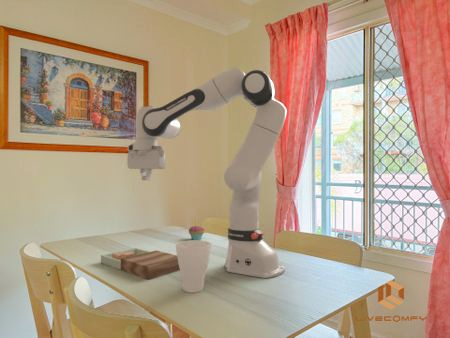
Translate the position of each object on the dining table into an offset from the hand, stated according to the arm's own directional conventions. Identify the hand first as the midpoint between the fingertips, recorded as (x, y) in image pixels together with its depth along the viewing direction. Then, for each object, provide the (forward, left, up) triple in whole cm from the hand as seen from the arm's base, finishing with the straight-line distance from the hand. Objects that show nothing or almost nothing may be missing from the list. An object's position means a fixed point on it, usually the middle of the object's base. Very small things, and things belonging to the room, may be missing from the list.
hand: (145, 180), depth 129 cm
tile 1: (+1, +10, -28) cm, 30 cm away
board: (-14, +7, -32) cm, 36 cm away
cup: (-39, +12, -32) cm, 52 cm away
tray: (0, +7, -32) cm, 32 cm away
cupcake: (+10, -41, -32) cm, 53 cm away
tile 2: (-2, +10, -29) cm, 31 cm away
